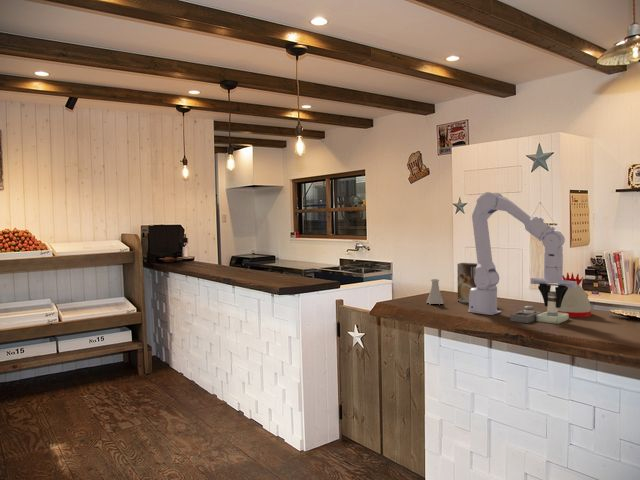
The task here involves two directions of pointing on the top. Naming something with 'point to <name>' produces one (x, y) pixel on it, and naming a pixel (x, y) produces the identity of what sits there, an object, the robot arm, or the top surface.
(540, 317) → the parts tray
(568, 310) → the kitchen timer
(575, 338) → the top surface
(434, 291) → the flask
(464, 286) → the coffee box
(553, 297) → the cylinder
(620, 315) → the top surface
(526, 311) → the grey compartment rack
